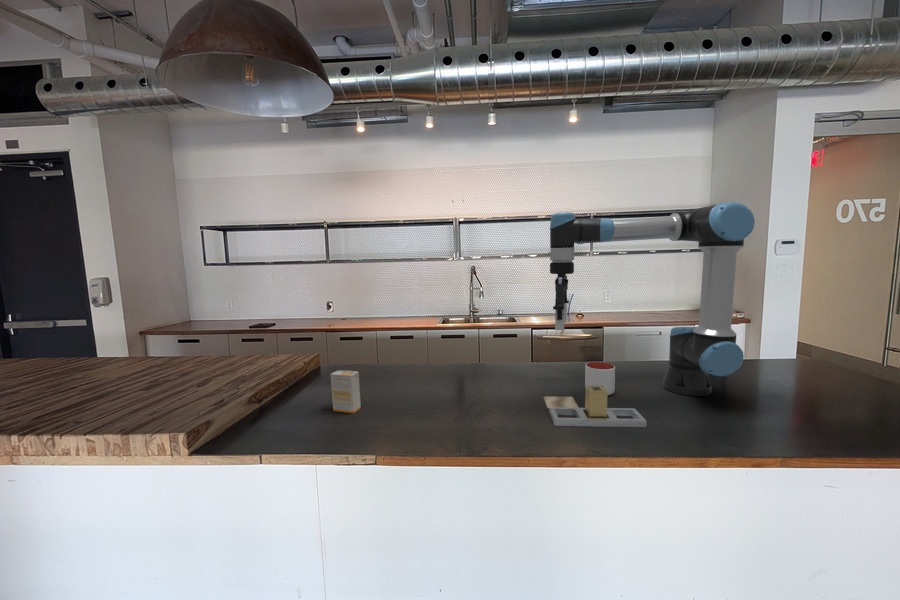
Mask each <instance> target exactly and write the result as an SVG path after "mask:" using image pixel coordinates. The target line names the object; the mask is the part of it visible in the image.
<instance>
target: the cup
mask: <svg viewBox="0 0 900 600" xmlns="http://www.w3.org/2000/svg"><path fill="white" fill-rule="evenodd" d="M584 366H585V367H584V371H585V372H584V374H585V375H584V378H585V379H584V381H585V382H584V387H585V388H584V390H586V386H603V387H604V388H605V389H606V390H607V391H608V392H607V397H608V396H610V395H611V396H612V395H613V394H614V393H615V387H616V385H615V384H616V383H615V382H616V366H615V365H614V364H612V363H608V362H605V361H590V362H587V363H585V365H584Z"/></svg>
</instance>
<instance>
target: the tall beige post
mask: <svg viewBox="0 0 900 600" xmlns="http://www.w3.org/2000/svg"><path fill="white" fill-rule="evenodd" d="M607 392H608V391H607V390H606V389H605V388H604V387H603V386H586V389H585V394H584V395H585V399H584V408H585V414H586V416H587V418H607V408H608V396H607Z"/></svg>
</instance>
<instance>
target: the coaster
mask: <svg viewBox="0 0 900 600" xmlns="http://www.w3.org/2000/svg"><path fill="white" fill-rule="evenodd" d="M542 397H543V400H544V402H545V406H546V407H547V409H548V410H550V407H565V408H580V407H579V406H578V404H577V402H576V400H575V399H574V397H573V396H542Z"/></svg>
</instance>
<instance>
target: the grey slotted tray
mask: <svg viewBox="0 0 900 600" xmlns="http://www.w3.org/2000/svg"><path fill="white" fill-rule="evenodd" d="M549 415H550V418H551V421H552V423H553V425H554V426H555V427H594V428H595V427H599V428H601V427H602V428H603V427H604V428H605V427H606V428H609V427H610V428H647V426H648V425H647V424H648V423H647V421H648V420H646V419H645V417H643V416H642V414H641V413H640V412H639V411H638V410H637V409H636V408H632V407H631V408H628V407H623V408H622V407H621V408H620V407H607V418H587V416H586V414H585V407H579V408H565V407H550V409H549ZM559 416H575V417H559ZM618 417H632V418H618Z"/></svg>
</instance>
